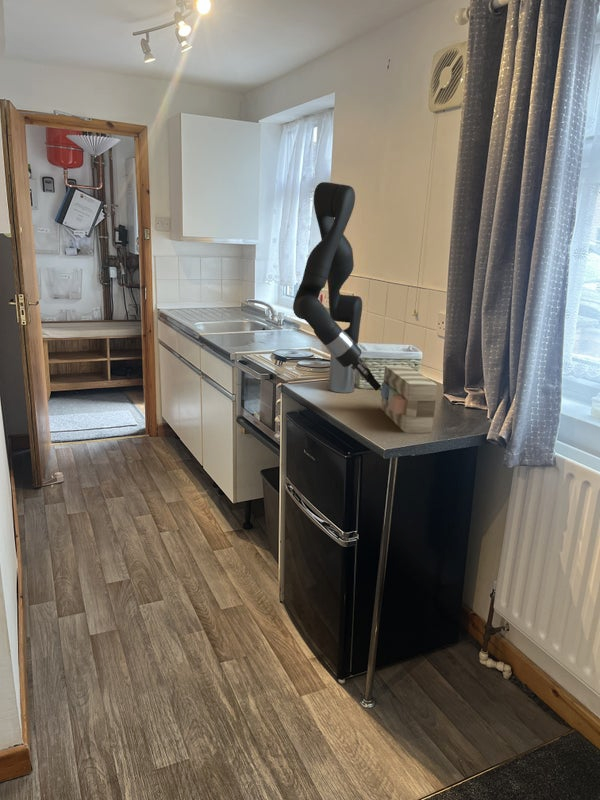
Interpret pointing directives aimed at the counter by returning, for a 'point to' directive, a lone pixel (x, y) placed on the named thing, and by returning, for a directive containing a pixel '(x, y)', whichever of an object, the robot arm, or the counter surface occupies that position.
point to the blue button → (385, 390)
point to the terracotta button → (398, 404)
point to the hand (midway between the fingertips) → (378, 388)
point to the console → (411, 399)
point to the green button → (392, 394)
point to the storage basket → (386, 360)
